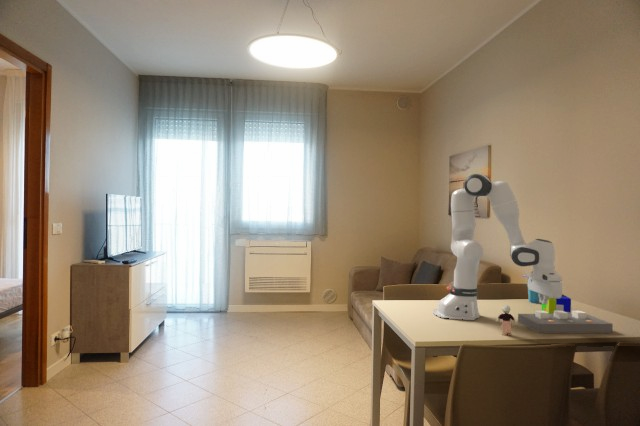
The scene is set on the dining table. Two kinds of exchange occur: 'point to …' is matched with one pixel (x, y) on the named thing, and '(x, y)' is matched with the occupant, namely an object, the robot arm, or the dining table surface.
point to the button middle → (561, 314)
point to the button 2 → (579, 314)
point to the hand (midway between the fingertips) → (543, 303)
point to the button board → (565, 324)
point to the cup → (532, 294)
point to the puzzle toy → (558, 305)
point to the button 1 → (542, 314)
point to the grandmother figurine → (506, 320)
